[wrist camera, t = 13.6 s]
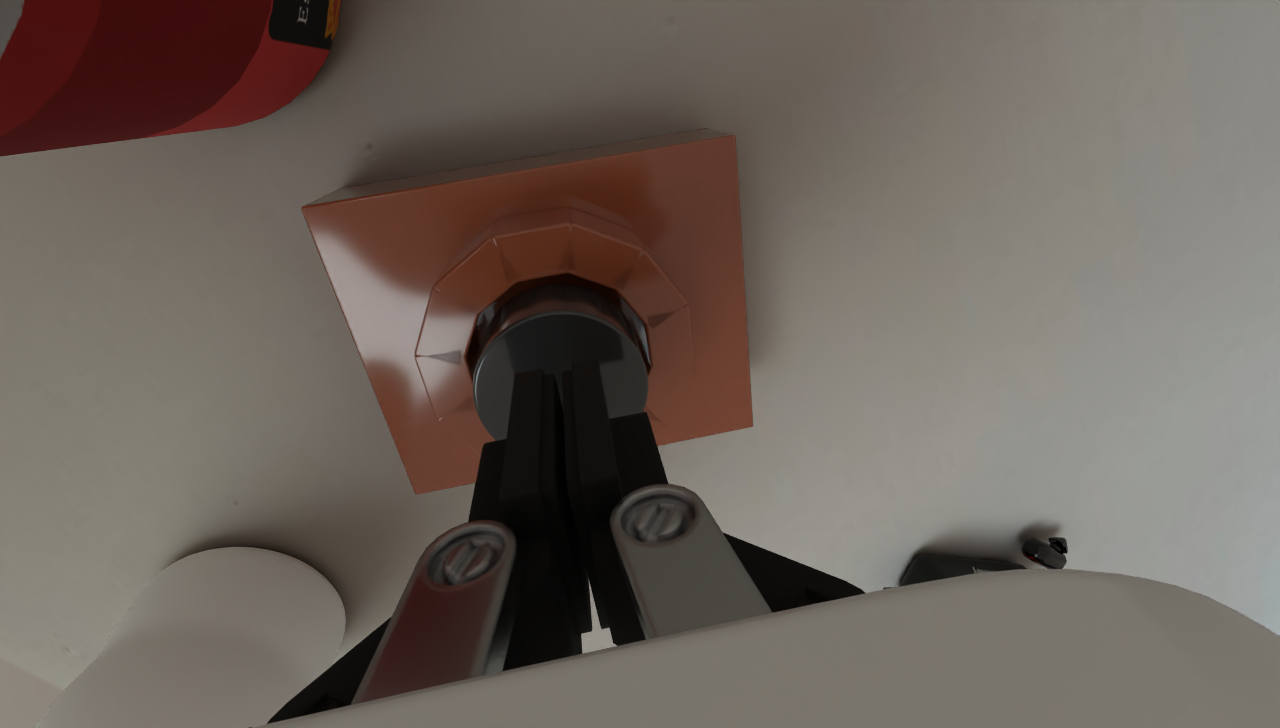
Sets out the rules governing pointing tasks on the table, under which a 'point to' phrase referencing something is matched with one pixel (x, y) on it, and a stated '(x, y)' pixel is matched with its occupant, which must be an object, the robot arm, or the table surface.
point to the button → (557, 350)
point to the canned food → (151, 66)
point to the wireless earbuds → (984, 562)
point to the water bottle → (210, 646)
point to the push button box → (543, 281)
